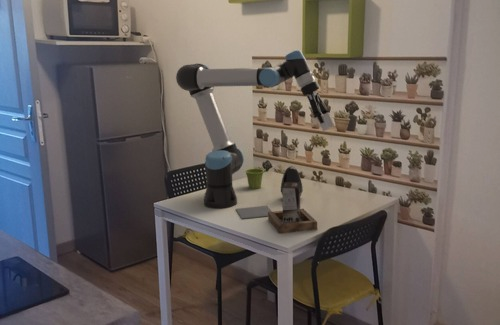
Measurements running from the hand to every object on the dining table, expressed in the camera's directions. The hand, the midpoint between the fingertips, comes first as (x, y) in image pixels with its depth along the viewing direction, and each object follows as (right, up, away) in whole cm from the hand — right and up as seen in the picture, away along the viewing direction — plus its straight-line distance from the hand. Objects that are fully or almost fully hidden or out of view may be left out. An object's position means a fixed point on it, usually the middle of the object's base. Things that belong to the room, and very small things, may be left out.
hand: (329, 128), depth 216 cm
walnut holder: (-18, -39, -19) cm, 47 cm away
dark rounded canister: (-15, -32, +14) cm, 38 cm away
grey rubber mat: (-32, -36, -4) cm, 49 cm away
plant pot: (-32, -28, +35) cm, 55 cm away
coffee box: (-18, -39, -19) cm, 47 cm away
